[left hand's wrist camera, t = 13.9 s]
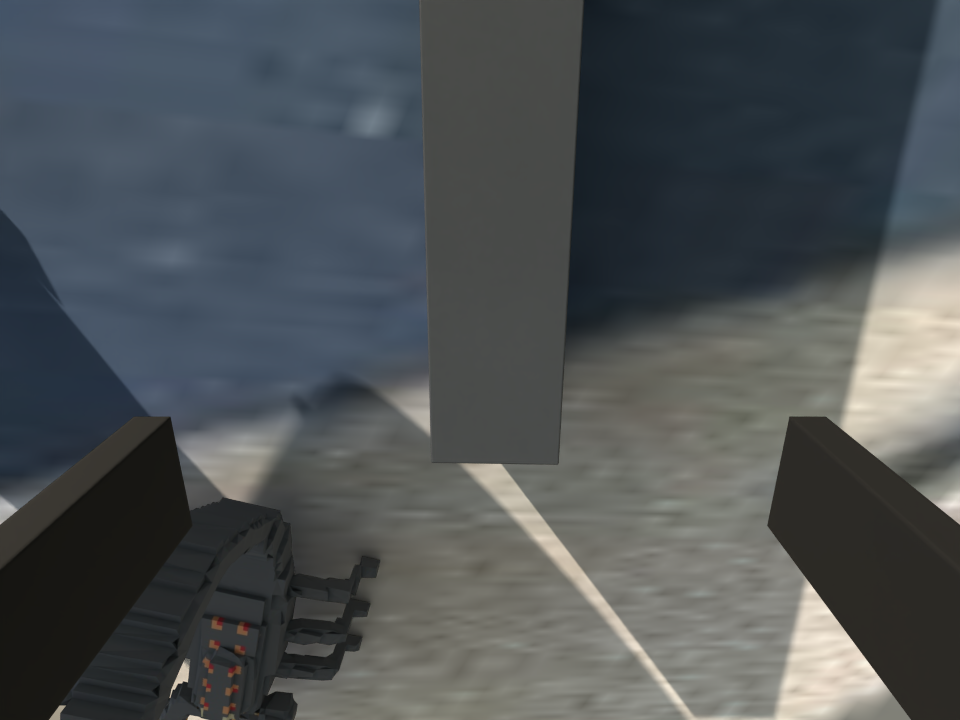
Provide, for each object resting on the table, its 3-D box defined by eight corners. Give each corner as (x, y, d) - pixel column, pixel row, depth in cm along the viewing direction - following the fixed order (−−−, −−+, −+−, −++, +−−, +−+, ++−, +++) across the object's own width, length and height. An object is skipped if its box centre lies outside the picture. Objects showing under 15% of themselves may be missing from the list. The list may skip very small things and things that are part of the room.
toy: (408, 436, 34) (323, 724, 17) (335, 753, 43) (230, 1152, 26) (179, 383, 34) (-152, 629, 16) (152, 717, 43) (-82, 1104, 25)
